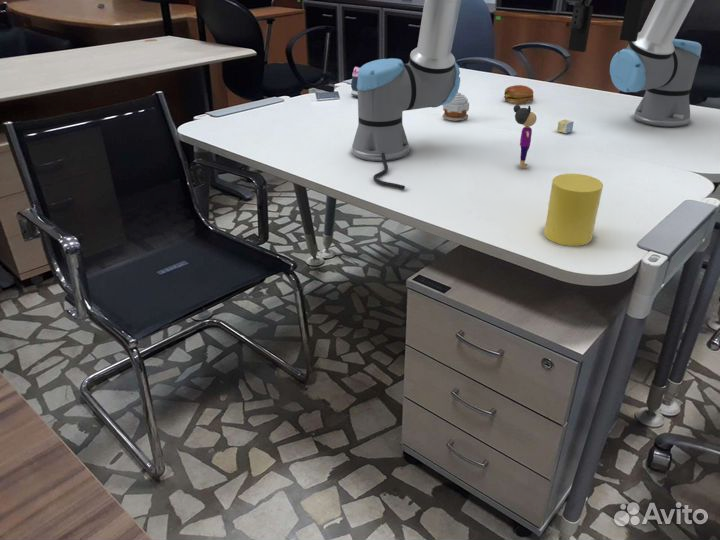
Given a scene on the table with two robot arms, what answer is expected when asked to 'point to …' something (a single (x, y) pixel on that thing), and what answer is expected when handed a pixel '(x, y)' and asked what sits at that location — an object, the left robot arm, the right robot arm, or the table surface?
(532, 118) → the toy
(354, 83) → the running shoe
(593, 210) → the canister
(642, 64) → the right robot arm
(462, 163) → the table surface
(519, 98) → the burger
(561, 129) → the alphabet block
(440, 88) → the left robot arm
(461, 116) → the cream topped cupcake
